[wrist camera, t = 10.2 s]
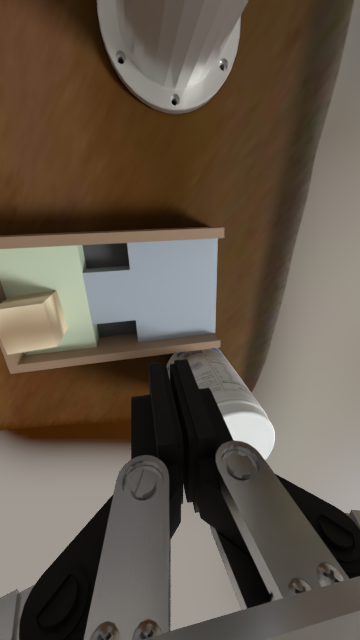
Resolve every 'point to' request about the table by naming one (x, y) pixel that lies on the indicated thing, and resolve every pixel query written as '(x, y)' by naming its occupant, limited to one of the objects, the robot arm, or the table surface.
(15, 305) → the maple block
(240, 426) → the supplement tub
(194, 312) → the box
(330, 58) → the table surface
